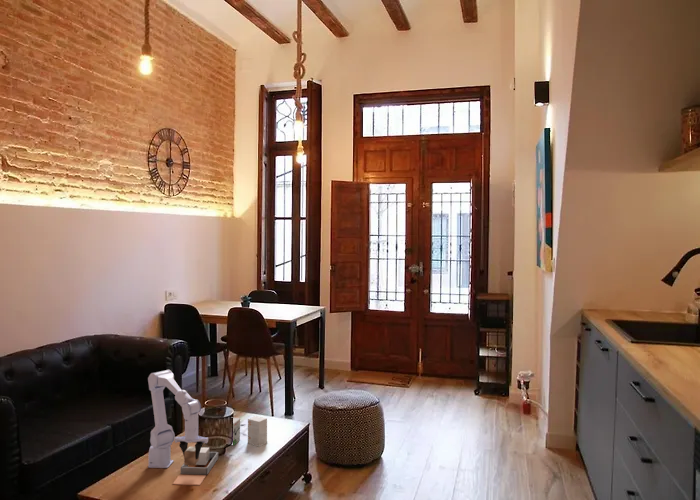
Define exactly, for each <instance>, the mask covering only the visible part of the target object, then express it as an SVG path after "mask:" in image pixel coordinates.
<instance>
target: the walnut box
mask: <svg viewBox="0 0 700 500" xmlns="http://www.w3.org/2000/svg"><path fill="white" fill-rule="evenodd" d="M183 458H184V459H183V461H184V463H183V464H184V465H189V466H195V465H196V463H197V461H198V460H199V458H198V459H196V449H195V446H189V445H188V447H187V449H186V451H185V452H184V455H183Z"/></svg>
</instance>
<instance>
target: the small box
mask: <svg viewBox="0 0 700 500" xmlns="http://www.w3.org/2000/svg"><path fill="white" fill-rule="evenodd" d="M267 443H268V418H266V417H262V416H258V415H254V416H251V417H249V418H247V444H249V445H252V446H256V447H261V446H263V445H265V444H267Z"/></svg>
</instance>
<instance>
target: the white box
mask: <svg viewBox="0 0 700 500" xmlns="http://www.w3.org/2000/svg"><path fill="white" fill-rule="evenodd" d="M209 452H210V447H201V450H200V453H199V460H198V461H197V463H196V464H195V465H196V466H206V465H207V464H208V463H209V461H210V458H209Z"/></svg>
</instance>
